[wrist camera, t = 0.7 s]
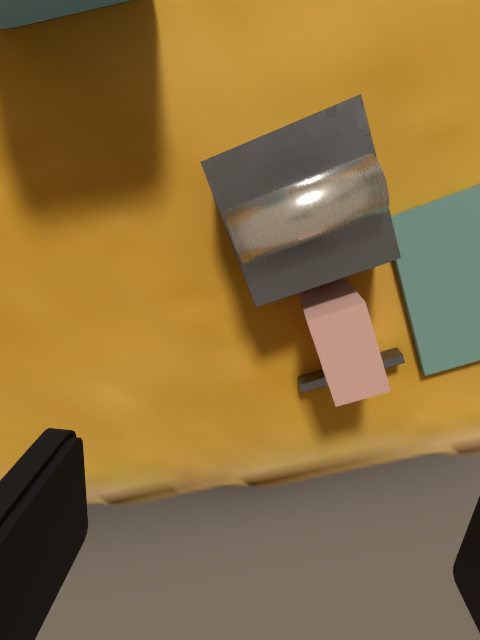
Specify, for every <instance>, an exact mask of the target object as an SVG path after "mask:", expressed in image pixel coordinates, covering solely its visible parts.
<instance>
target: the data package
mask: <svg viewBox="0 0 480 640" xmlns="http://www.w3.org/2000/svg"><path fill="white" fill-rule="evenodd" d="M126 1H131V0H0V29H7V28H15V27H19V26H23V25H28V24H32V23H36V22H41V21H45V20H49V19H53V18H58V17H62V16H66V15H71V14H75V13H79V12H83V11H88V10H92V9H96V8H101V7H105V6H109V5H114V4H118V3H122V2H126Z"/></svg>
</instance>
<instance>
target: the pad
mask: <svg viewBox="0 0 480 640" xmlns="http://www.w3.org/2000/svg"><path fill="white" fill-rule="evenodd" d="M391 219H392V223H393V227H394V231H395V235H396V239H397V243H398V247H399V251H400V256H401V258H400V259H397V260H394V263H395V267H396V271H397V275H398V279H399V283H400V287H401V291H402V295H403V299H404V303H405V307H406V311H407V315H408V319H409V323H410V327H411V331H412V335H413V339H414V343H415V347H416V351H417V355H418V359H419V363H420V367H421V370H422V372H423V374H424V375H425V376H427V375H430V374H434V373H437V372H441V371H444V370H448V369H451V368H455V367H458V366H462V365H465V364H469V363H472V362H476V361H479V360H480V184H479V185H476V186H474V187H471V188H468V189H465V190H462V191H460V192H457V193H454V194H451V195H449V196H446V197H443V198H440V199H438V200H435V201H432V202H429V203H426V204H424V205H421V206H418V207H415V208H413V209H410V210H407V211H404V212H401V213H399V214H396V215H393V216H391Z"/></svg>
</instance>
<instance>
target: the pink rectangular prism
mask: <svg viewBox="0 0 480 640" xmlns="http://www.w3.org/2000/svg"><path fill="white" fill-rule="evenodd" d="M299 297H300V300H301V304H302V307H303V310H304V314H305V317H306V321H307V324H308V327H309V330H310V333H311V336H312V338H313V341H314V344H315V347H316V350H317V353H318V356H319V359H320V362H321V366H322V369H323V372H324V375H325V378H326V381H327V384H328V386H329V388H330V391H331V394H332V397H333V400H334V403H335V406H336V407H337V406H341V405H344V404H348V403H352V402H355V401H359V400H362V399H366V398H369V397H373V396H377V395H380V394H384V393H387V392H391V389H390V386H389V382H388V379H387V375H386V372H385V368H384V365H383V361H382V358H381V354H380V351H379V347H378V344H377V340H376V337H375V333H374V330H373V326H372V323H371V319H370V316H369V312H368V309H367V305H366V302H365V301H364V300H363V298H362V297H361V296H360V295H359V294H358V292H357V291H356V290H355V289H354V288H353V286H352V285H351V284H350V283H349V282H348V280H347V279H346V278H342V279H339V280H336V281H333V282H330V283H327V284H324V285H321V286H318V287H315V288H313V289H310V290H307V291H304V292H301V293H299Z"/></svg>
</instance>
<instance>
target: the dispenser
mask: <svg viewBox="0 0 480 640" xmlns="http://www.w3.org/2000/svg"><path fill="white" fill-rule="evenodd" d="M201 164H202V167H203V170H204V172H205V175H206V177H207V180H208V183H209V185H210V188H211V191H212V193H213V196H214V198H215V201H216V204H217V206H218V209H219V212H220V214H221V217H222V219H223V222H224V225H225V227H226V230H227V233H228V235H229V238H230V240H231V243H232V246H233V248H234V251H235V254H236V256H237V259H238V261H239V264H240V267H241V269H242V272H243V275H244V277H245V280H246V282H247V285H248V288H249V290H250V293H251V296H252V298H253V301H254V303H255V306H256V307H259V306H262V305H265V304H268V303H271V302H274V301H276V300H279V299H282V298H285V297H288V296H291V295H294V294H297V293H300V292H303V291H306V290H309V289H312V288H315V287H318V286H321V285H324V284H326V283H329V282H332V281H335V280H338V279H341V278H344V277H347V276H350V275H353V274H356V273H359V272H362V271H365V270H368V269H371V268H374V267H376V266H379V265H382V264H385V263H388V262H391V261H394V260H397V259H400V258H401V256H400V251H399V247H398V243H397V239H396V235H395V231H394V227H393V223H392V219H391V215H390V211H389V195H388V189H387V184H386V180H385V177H384V174H383V171H382V168H381V166H380V164H379V162H378V160H377V158H376V154H375V150H374V146H373V141H372V137H371V133H370V129H369V125H368V121H367V117H366V113H365V109H364V105H363V101H362V97H361V94H360V95H358V96H356V97H353V98H351V99H348V100H346V101H344V102H341V103H339V104H337V105H334V106H332V107H330V108H327V109H325V110H322V111H320V112H318V113H315V114H313V115H311V116H308V117H306V118H304V119H301V120H299V121H296V122H294V123H292V124H289V125H287V126H285V127H282V128H280V129H278V130H275V131H273V132H270V133H268V134H266V135H263V136H261V137H259V138H256V139H254V140H252V141H249V142H247V143H244V144H242V145H240V146H237V147H235V148H233V149H230V150H228V151H225V152H223V153H221V154H218V155H216V156H214V157H211V158H209V159H207V160H204V161H202V162H201ZM380 354H381V358H382V361H383V365H384V368H389V367H392V366H396V365H399V364H403V363H405V361H404V358H403V354H402V353H401V352H400V351H399V349H398V348H397V347H396V348H393V349H390V350H386V351H383V352H380ZM298 382H299V387H300V389H301V392H302V393H303V392H307V391H310V390H313V389H317V388H320V387H324V386H327V385H328V384H327V381H326V378H325V375H324V372H323V370H320V371H316V372H313V373H310V374H306V375H303V376H300V377H298Z"/></svg>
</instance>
